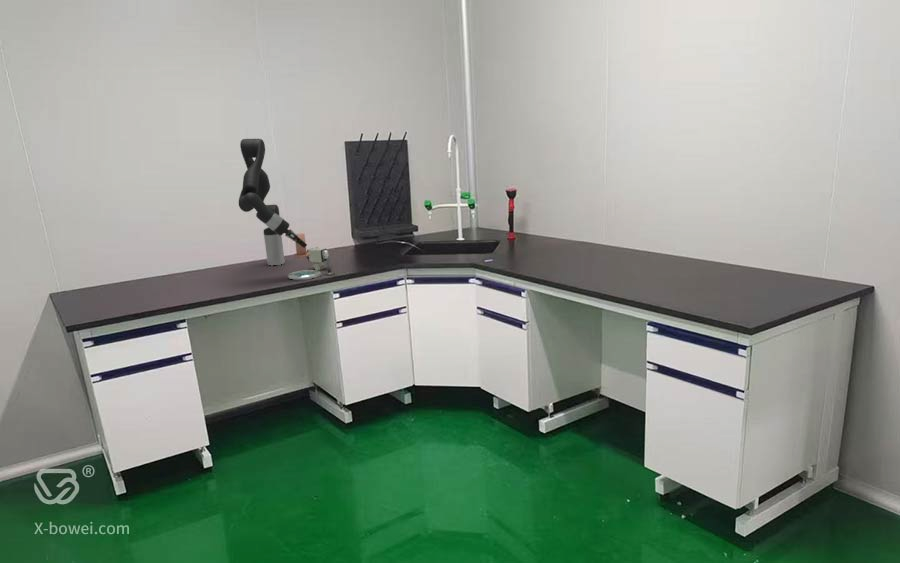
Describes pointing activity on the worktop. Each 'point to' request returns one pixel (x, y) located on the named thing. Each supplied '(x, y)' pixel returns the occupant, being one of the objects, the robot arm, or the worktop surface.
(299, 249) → the cast cover
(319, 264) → the pneumatic valve
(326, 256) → the dial post
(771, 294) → the worktop surface
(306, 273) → the disc
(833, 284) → the worktop surface
